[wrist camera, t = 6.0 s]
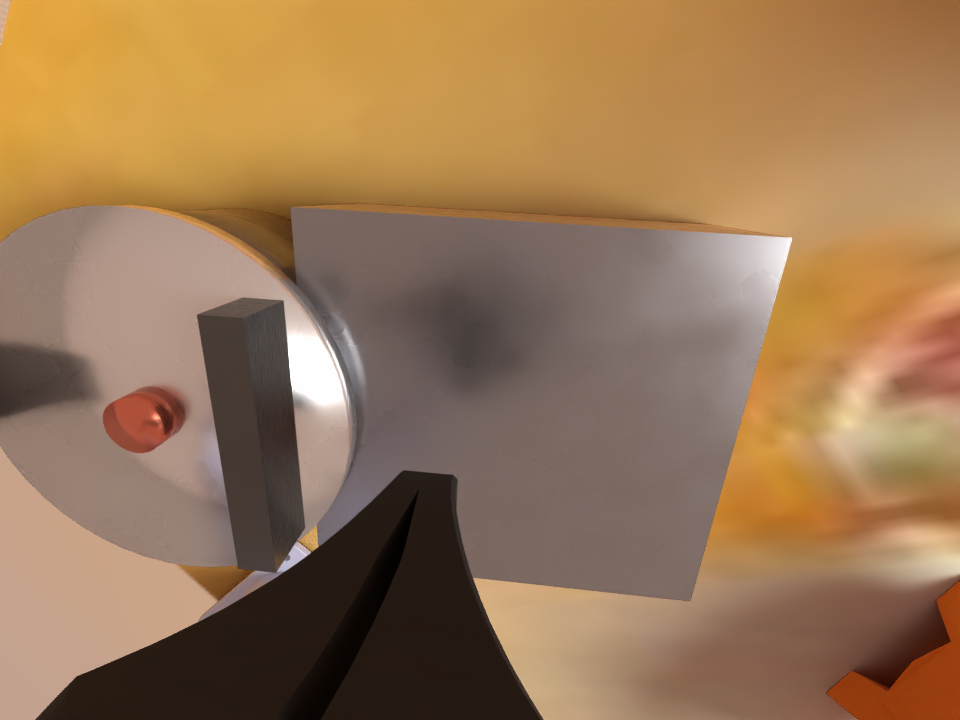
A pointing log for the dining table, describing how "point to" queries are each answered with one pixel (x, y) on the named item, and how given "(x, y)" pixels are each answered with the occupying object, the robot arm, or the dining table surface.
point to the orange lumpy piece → (913, 680)
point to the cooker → (539, 374)
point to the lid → (169, 386)
